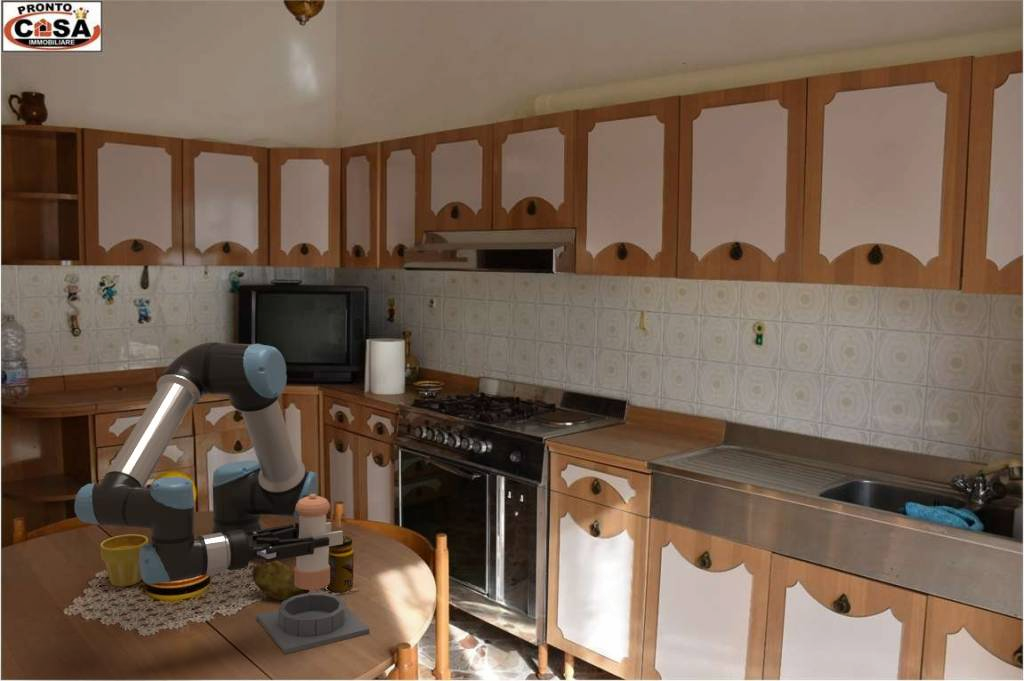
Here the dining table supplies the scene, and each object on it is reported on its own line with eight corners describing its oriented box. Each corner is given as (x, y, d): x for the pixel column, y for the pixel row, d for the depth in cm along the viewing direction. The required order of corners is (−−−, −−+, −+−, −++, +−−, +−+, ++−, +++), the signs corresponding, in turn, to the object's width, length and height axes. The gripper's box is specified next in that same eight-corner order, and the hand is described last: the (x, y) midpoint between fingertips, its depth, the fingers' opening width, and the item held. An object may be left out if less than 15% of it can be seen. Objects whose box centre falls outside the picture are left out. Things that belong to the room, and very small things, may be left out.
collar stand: (256, 619, 183) (256, 599, 182) (335, 601, 193) (336, 582, 192) (285, 654, 168) (285, 632, 167) (369, 633, 178) (369, 612, 177)
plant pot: (91, 584, 198) (90, 543, 197) (129, 569, 207) (128, 530, 206) (121, 593, 193) (120, 552, 192) (159, 578, 202) (158, 538, 201)
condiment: (359, 590, 199) (360, 541, 198) (324, 598, 195) (325, 547, 193) (347, 580, 205) (347, 531, 204) (313, 586, 201) (313, 537, 199)
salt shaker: (287, 586, 177) (287, 496, 175) (308, 574, 184) (308, 487, 182) (316, 592, 174) (317, 501, 172) (336, 579, 181) (337, 492, 179)
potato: (287, 609, 188) (287, 575, 187) (245, 596, 194) (245, 562, 193) (313, 597, 195) (314, 563, 194) (273, 584, 201) (273, 551, 200)
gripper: (212, 555, 176) (319, 536, 189) (239, 586, 161) (353, 564, 174) (212, 520, 175) (320, 504, 188) (239, 547, 160) (354, 528, 173)
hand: (336, 532), depth 181 cm, fingers closed on salt shaker, 5 cm apart
